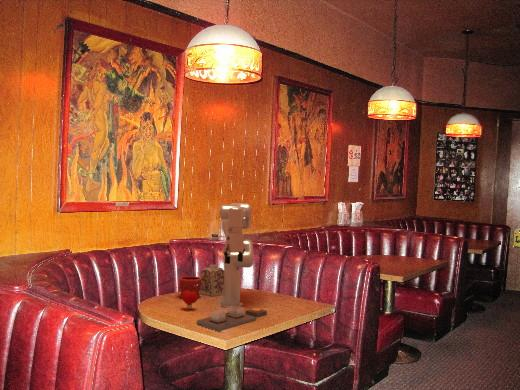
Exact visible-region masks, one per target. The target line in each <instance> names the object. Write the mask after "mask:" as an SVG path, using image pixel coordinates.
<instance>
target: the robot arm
mask: <svg viewBox="0 0 520 390" xmlns="http://www.w3.org/2000/svg"><path fill="white" fill-rule="evenodd" d="M252 211H253V210H252V206H251V205H250V204H249V203H245V202H244V203H243V202H241V203H240V202H232V203H230V204H221V205H220V207H219V211H218V212H219V213H218V214H219V218H220V220H221V229H222V232H223V235H224V236H225V245H224V246H222V247H221V250H222V251H221V252H222V254H223V255H222V256H223V257H222V261H223V270H224V294H223V295H220V297H219V300H221V302H220V306H221V307H223V308H228V307H229V308H230V307H234V306H239V307H242V308H243V303H242V302H241V280H242V276H241V273H240V271H239V270H238V268H252V266H254V262H255V258H254V257H255V256H254V244H253V241H252V240H251V239H247V238H246V239H245V238H244V234H243V230H248V229H250V227H251V224H252V214H253V213H252Z"/></svg>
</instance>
